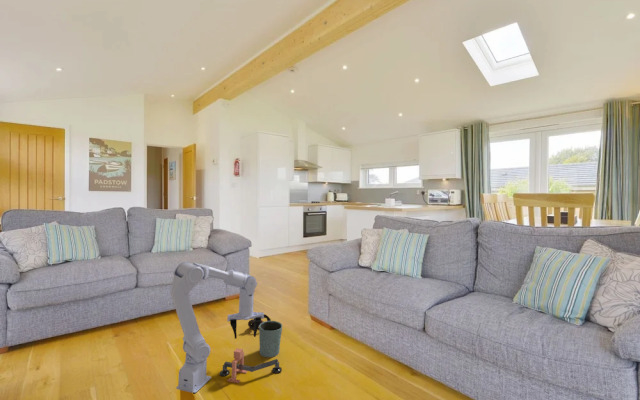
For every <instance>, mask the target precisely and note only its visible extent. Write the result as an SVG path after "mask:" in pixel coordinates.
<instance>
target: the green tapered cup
mask: <svg viewBox="0 0 640 400" xmlns="http://www.w3.org/2000/svg"><path fill="white" fill-rule="evenodd" d="M258 331H259V332H258V333H259V350H258V351H259V355H260V356H261V357H264V358H274V357H276V356H278V355H279V354H280V348H281V337H282V331H283V324H282V322H279V321H277V320H271V321H267V320H265V321H263V323H261V324H260V325H259V327H258Z"/></svg>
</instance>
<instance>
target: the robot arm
mask: <svg viewBox="0 0 640 400" xmlns="http://www.w3.org/2000/svg"><path fill="white" fill-rule="evenodd" d="M208 277H210V278H214V279H219V280H223V282H224V284H225V285H229V286H231V287H236V288H239V296H238V297H239V298H238V299H239V300H238V312H237V313H233V314H227V322H229V324H230V327H231V329H232V330H233V331H232V332H233V335H234V339H236V340H237V338H238V337H237V336H238V335H237V327H238V326H237V324H238V323H237V322H238V321H242V320H243V321H250V320H252V319H253V320H254V330H253V337H254V338H256V336H257V332H258V331H259V325H260V323H261V320H264V319H265V318H264V314H265V313H264V311H263V312H260V311H259V312H255V311H254V296H255V291H256V290H255V289H256V288H257V285H258V281H257V279H256V277H255V276H253V275H250V274H247V272H245V271H243V272H241V271H238V269H235V268H232V269H227V270H226V271H224V270H223V269H222V270H221V269H218V268H215V267H214V266H213V267H212V266H210V265H207V264H201V263H197V262H192V263H191V262H189V261H182V262H180V263H179V264H178V265H177V267H176V268H175V269H174V270H173V279H172V280H173V281H172V284H171V289H170V296H171V298H172V301H173V305H174V308H175V311H176V315H177V318H178V321H179V325H180V327H181V331H182V333H183V337H182V341H183V343H182V350H183V352H185V360H184V361H185V362H184V364H183V365H182V367H180V368H179V370H178V385H177V386H176V387H175V388H176V389H175V390H179V391H184V392H188V393H193V394H196V393H198V392H199V390H200V389H201V388H202V387H204V386H205V385H206V384H207V383H208V381H210V380H211V379H212V376H210V375H207V366H208V364H207V362H208V361H207V358H208V357H209V356H210V354H211V346H210V345H209V344H208V343H207V342H206V340H205V338H204V336H203V335H202V333H201V331H200V329H199V325H198V322H197V317H196V315H195V314H196V313H195V311H194V308H193V305H192V302H191V299H190V295H189V294H190V293H191V292H192V290H193V289H194V288H195V287H196V286H197V285H198V284H200V283H201V281H202V280H206V279H207V278H208Z"/></svg>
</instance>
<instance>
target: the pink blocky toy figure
mask: <svg viewBox="0 0 640 400" xmlns="http://www.w3.org/2000/svg"><path fill="white" fill-rule="evenodd" d="M244 357H245V352H244V349H243V348H236V349H234V351H233V360H232V361H231V363H232V368H231V378H230V377H229V378H228V379H227V380H226V381H227V382H231V383H237V384H240V382H241V380H240V379H237V373H241V374H245V375H246V374H247V373H248V371H245V370H240V369H236V365H237V364H241V365H245V364H244V363H245V358H244ZM238 362H239V363H238Z"/></svg>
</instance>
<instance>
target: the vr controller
mask: <svg viewBox="0 0 640 400" xmlns="http://www.w3.org/2000/svg"><path fill="white" fill-rule="evenodd" d="M264 319H266V321H272V320H271V318H270V317H269V316H268V315H267V314H265V313H264ZM263 322H264V321H263V319H261V323H263ZM261 323H260V324H261ZM247 327H249V328H250V330H253V331H254V319H249V320H248V321H247Z"/></svg>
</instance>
